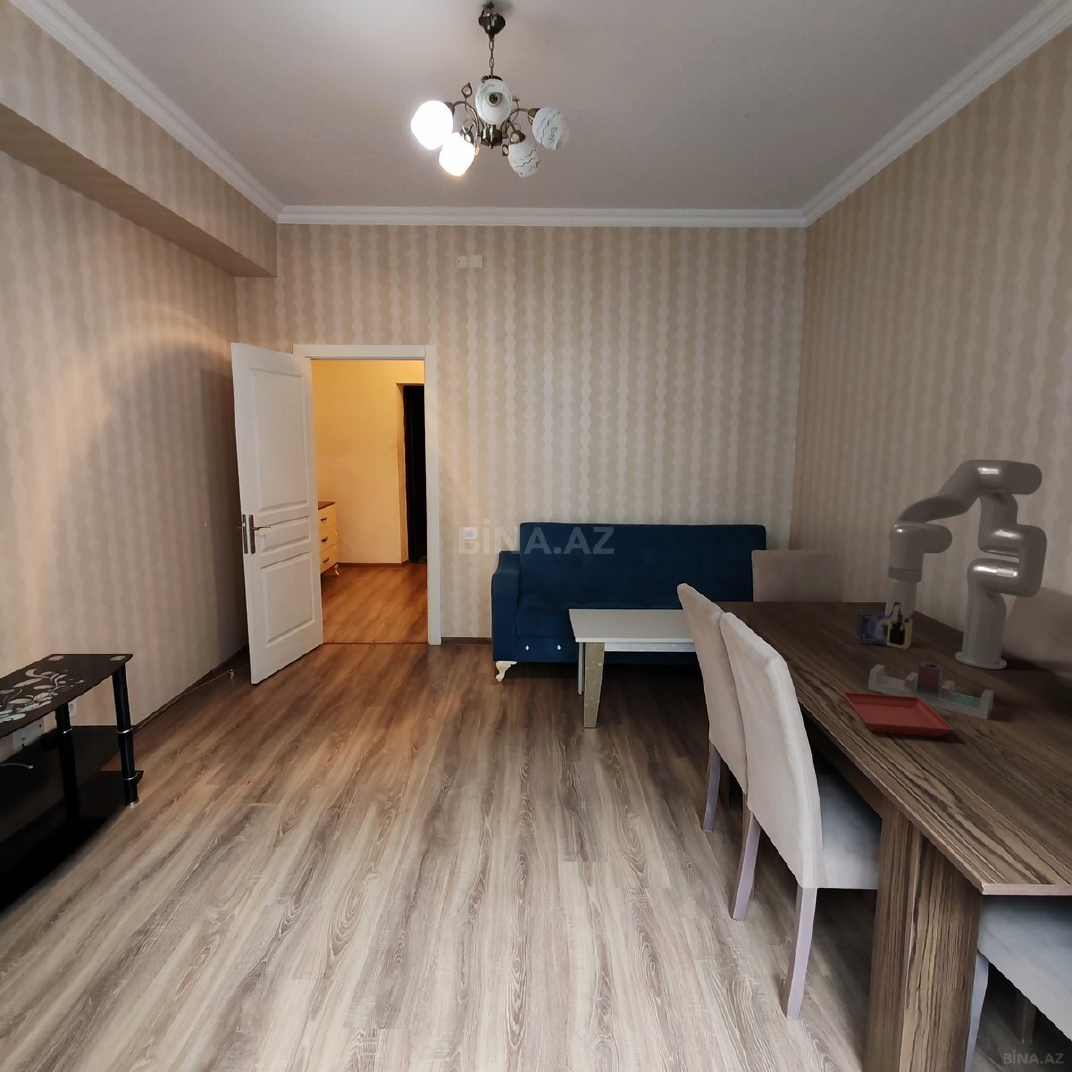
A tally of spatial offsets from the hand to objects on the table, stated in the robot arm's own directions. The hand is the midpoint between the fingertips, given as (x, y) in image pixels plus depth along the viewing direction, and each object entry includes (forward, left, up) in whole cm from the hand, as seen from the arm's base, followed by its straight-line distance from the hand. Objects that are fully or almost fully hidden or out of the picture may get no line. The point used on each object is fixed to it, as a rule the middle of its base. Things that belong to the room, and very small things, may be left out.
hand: (898, 640), depth 162 cm
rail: (0, +8, -14) cm, 16 cm away
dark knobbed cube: (0, +8, -12) cm, 14 cm away
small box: (-39, -15, -14) cm, 44 cm away
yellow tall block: (0, 0, -1) cm, 1 cm away
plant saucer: (+20, +5, -14) cm, 25 cm away
